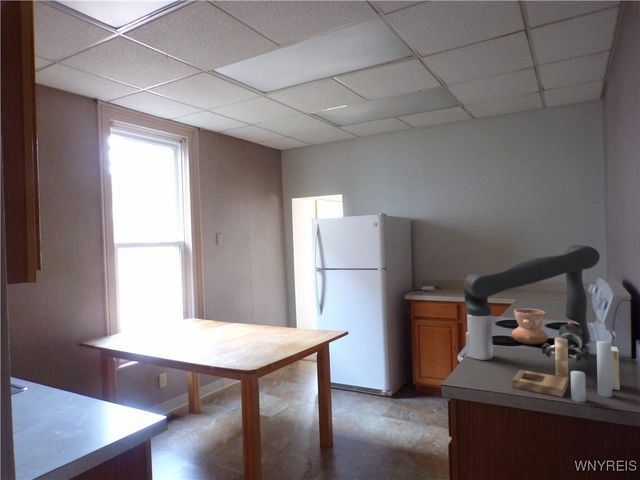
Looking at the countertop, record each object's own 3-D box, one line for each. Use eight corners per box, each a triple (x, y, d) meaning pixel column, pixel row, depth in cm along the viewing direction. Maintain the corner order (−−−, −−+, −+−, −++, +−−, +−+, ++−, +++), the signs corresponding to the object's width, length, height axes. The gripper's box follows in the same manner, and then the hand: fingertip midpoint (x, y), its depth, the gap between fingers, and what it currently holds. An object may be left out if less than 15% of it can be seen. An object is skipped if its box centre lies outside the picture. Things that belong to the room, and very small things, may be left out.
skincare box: (620, 390, 124) (619, 351, 124) (603, 388, 127) (602, 349, 127) (618, 383, 130) (617, 346, 130) (601, 381, 132) (600, 344, 132)
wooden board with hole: (512, 387, 130) (512, 379, 130) (520, 376, 139) (520, 369, 139) (562, 397, 121) (562, 388, 121) (567, 385, 130) (567, 377, 130)
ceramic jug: (545, 349, 168) (544, 315, 168) (507, 344, 177) (507, 312, 177) (551, 340, 182) (551, 308, 182) (516, 335, 191) (516, 305, 191)
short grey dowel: (570, 400, 119) (569, 373, 119) (572, 396, 122) (571, 370, 122) (585, 403, 117) (584, 375, 117) (586, 398, 120) (585, 372, 120)
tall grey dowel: (597, 395, 122) (596, 343, 121) (598, 391, 124) (597, 340, 124) (612, 398, 119) (610, 344, 119) (612, 394, 122) (611, 341, 122)
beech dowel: (555, 381, 134) (553, 339, 134) (556, 378, 137) (555, 337, 136) (567, 383, 132) (566, 341, 131) (569, 380, 134) (568, 338, 134)
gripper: (546, 332, 153) (538, 342, 140) (591, 337, 144) (587, 348, 131) (547, 351, 153) (539, 363, 140) (592, 357, 144) (588, 371, 132)
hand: (562, 356), depth 136 cm, fingers open, 8 cm apart
